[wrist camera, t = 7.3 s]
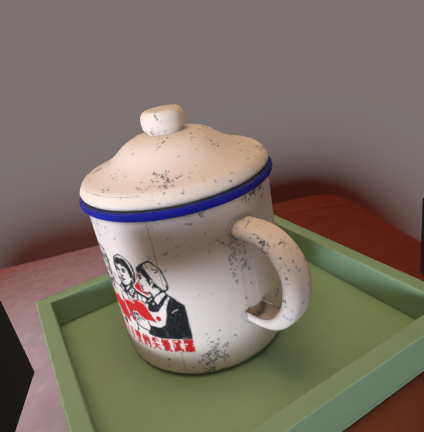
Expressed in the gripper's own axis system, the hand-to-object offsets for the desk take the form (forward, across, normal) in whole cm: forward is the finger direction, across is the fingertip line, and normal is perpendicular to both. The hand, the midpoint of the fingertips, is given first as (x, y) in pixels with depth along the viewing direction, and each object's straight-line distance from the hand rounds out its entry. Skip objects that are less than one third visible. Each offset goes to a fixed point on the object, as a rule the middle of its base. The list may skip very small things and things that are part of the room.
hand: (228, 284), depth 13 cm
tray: (+7, 0, +7) cm, 10 cm away
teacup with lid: (+7, 0, +7) cm, 10 cm away
